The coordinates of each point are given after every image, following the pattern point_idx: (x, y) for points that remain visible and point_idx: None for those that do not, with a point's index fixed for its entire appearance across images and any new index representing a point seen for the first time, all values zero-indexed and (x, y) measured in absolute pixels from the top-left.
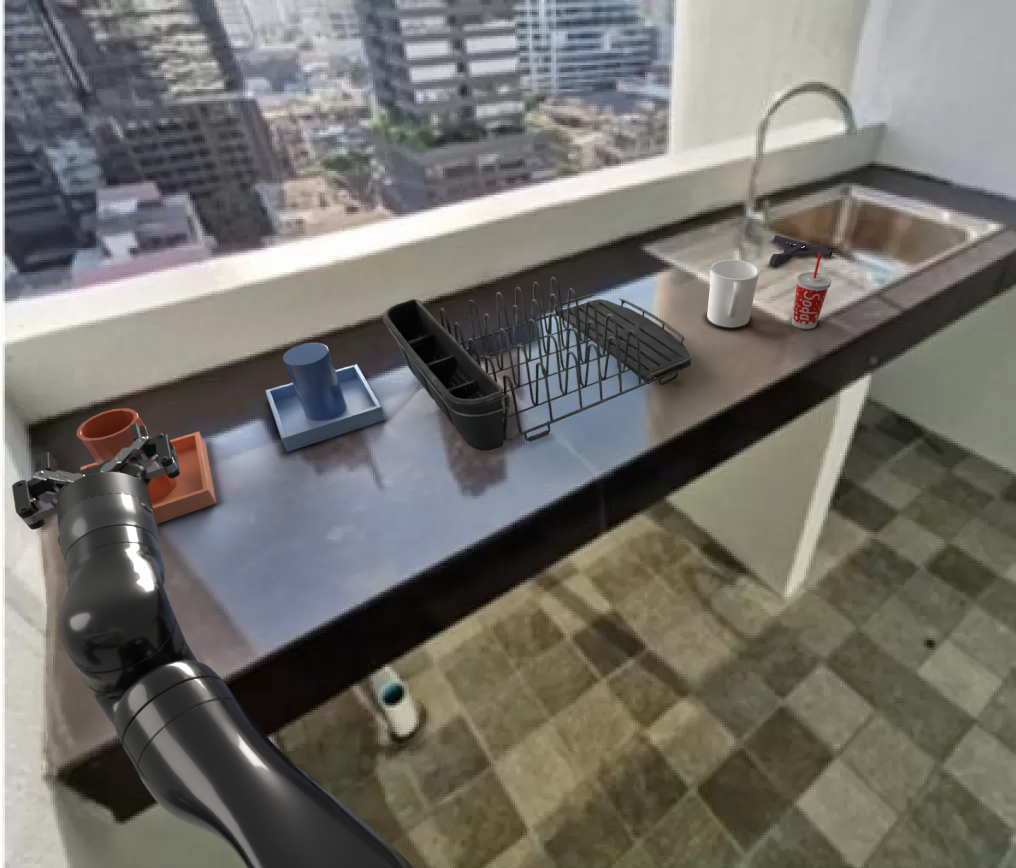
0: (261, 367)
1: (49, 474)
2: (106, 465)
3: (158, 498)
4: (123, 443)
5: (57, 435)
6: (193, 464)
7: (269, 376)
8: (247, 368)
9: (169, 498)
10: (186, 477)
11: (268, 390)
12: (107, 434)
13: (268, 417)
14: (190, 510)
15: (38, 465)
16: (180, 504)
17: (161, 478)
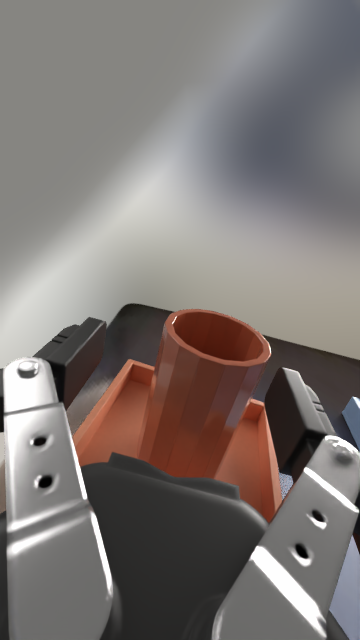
0: (318, 358)
1: (38, 393)
2: (255, 601)
3: None
4: (224, 388)
5: (134, 314)
6: (244, 452)
7: (330, 374)
8: (303, 351)
9: None
10: (231, 475)
11: (357, 399)
12: (193, 346)
13: (344, 435)
14: None
15: (61, 338)
16: None
17: (211, 469)
